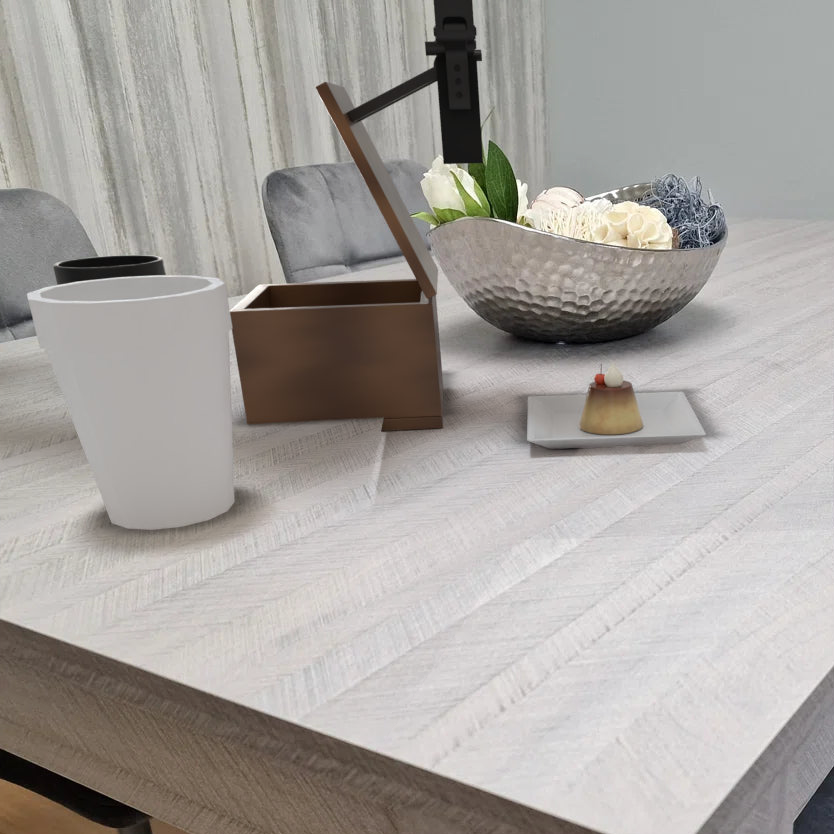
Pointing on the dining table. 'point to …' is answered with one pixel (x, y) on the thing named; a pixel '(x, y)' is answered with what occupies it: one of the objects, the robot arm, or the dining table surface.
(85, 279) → the mug
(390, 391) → the basket
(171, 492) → the foam cup
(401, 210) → the wooden box lid
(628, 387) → the dessert
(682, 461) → the dining table surface
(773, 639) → the dining table surface
